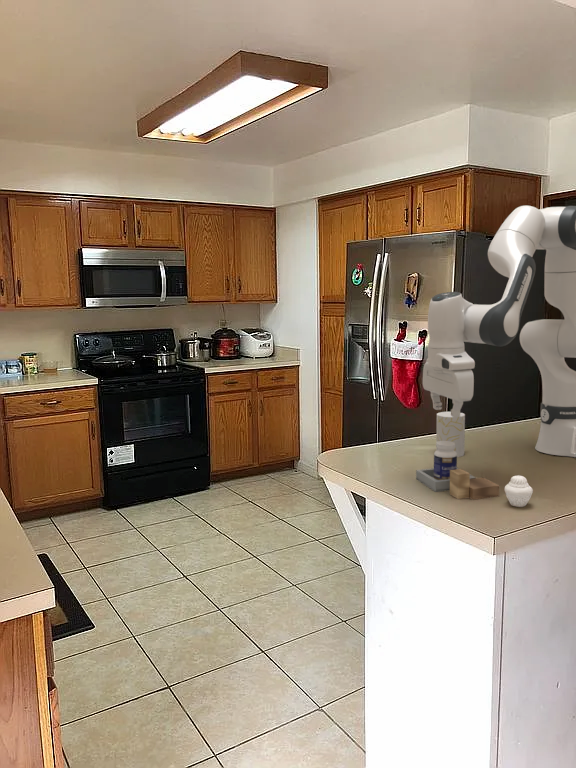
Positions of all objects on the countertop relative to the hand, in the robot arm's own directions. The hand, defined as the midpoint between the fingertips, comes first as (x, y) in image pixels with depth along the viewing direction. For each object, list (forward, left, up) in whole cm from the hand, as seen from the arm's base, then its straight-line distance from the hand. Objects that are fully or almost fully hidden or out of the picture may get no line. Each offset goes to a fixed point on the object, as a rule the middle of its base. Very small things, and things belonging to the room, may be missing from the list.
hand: (446, 412), depth 163 cm
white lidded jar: (-8, +20, -19) cm, 28 cm away
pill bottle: (0, 0, -18) cm, 18 cm away
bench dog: (+2, +10, -18) cm, 21 cm away
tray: (0, 0, -18) cm, 18 cm away
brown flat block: (-3, +10, -19) cm, 21 cm away
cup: (-15, -25, -19) cm, 35 cm away
